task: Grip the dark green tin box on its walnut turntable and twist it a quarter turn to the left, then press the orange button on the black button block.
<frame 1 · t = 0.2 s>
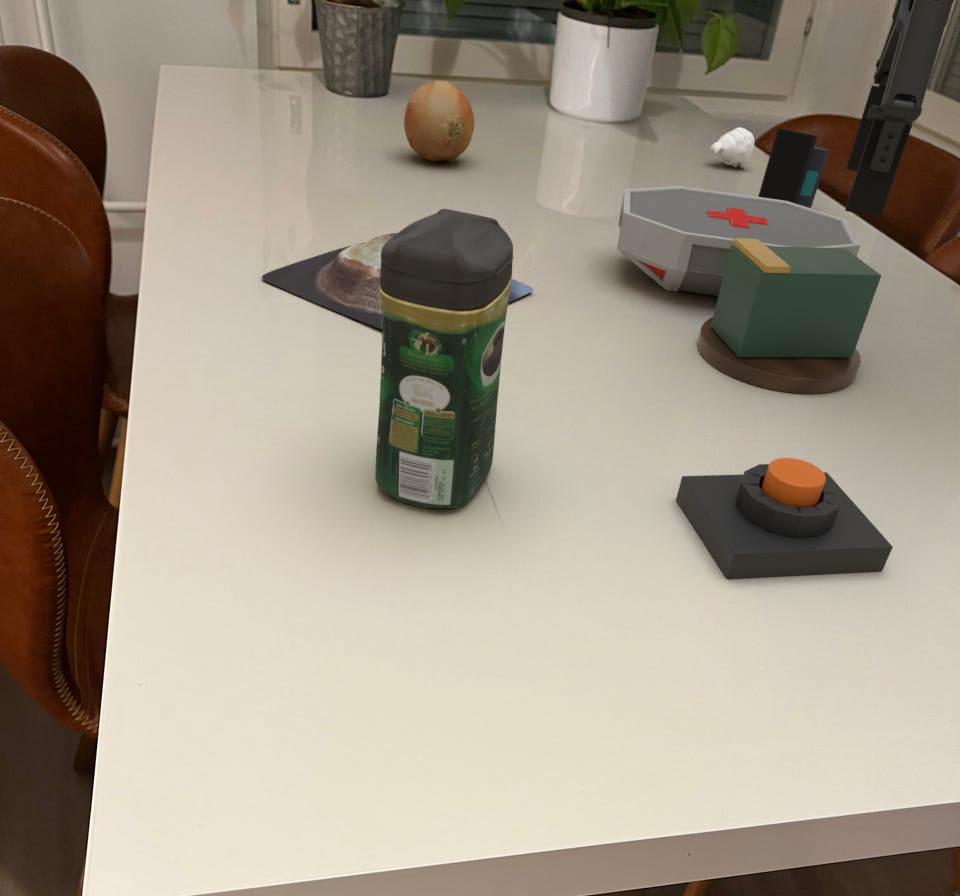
hand: (862, 191, 82), 17 cm above the table, tool pointing down, fingers open, 13 cm apart
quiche: (400, 287, 102), on the table
first aid kit: (720, 286, 112), on the table
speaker: (782, 212, 137), on the table
button: (793, 482, 69), point 4 cm above the table, slide at 0.1 cm
turntable base: (775, 357, 97), on the table
button block: (775, 535, 72), on the table
onion: (436, 162, 139), on the table
garlic bulb: (724, 168, 152), on the table
coffee jar: (432, 481, 74), on the table
box: (793, 299, 93), point 6 cm above the table, hinge at 0.0°
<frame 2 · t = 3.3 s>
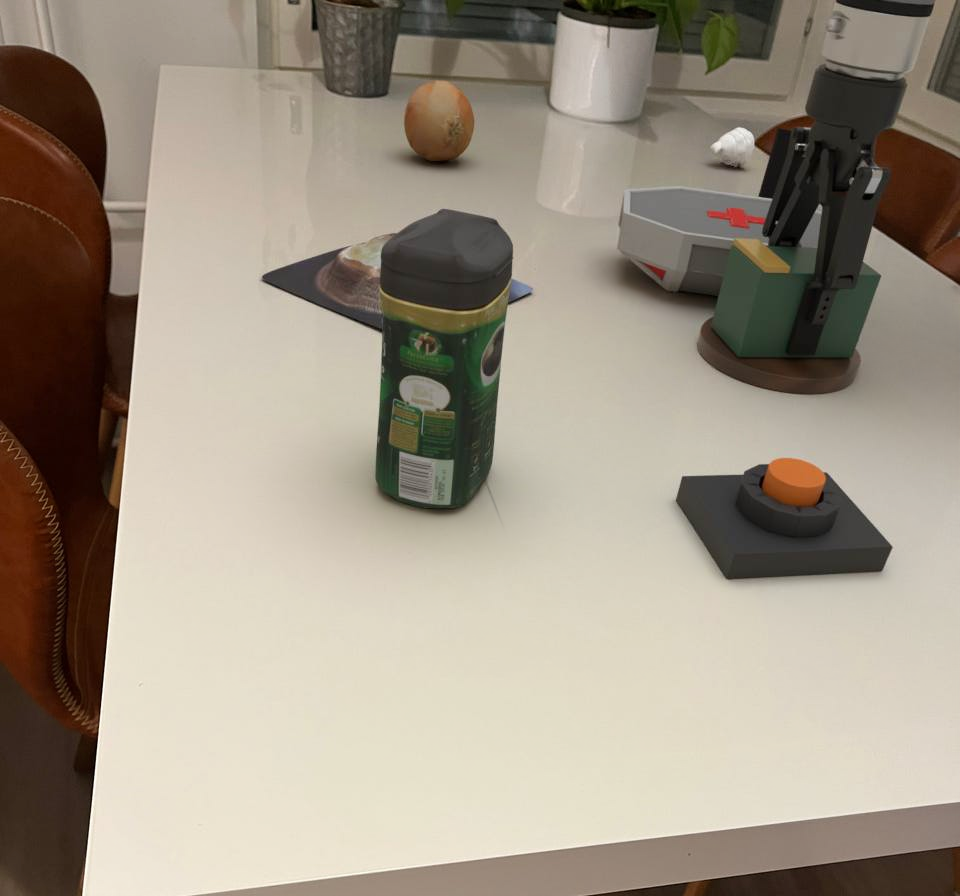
hand: (782, 335, 96), 2 cm above the table, tool pointing down, fingers closed on box, 7 cm apart
box: (793, 299, 93), point 6 cm above the table, hinge at 0.0°, touching gripper
everything else where it was.
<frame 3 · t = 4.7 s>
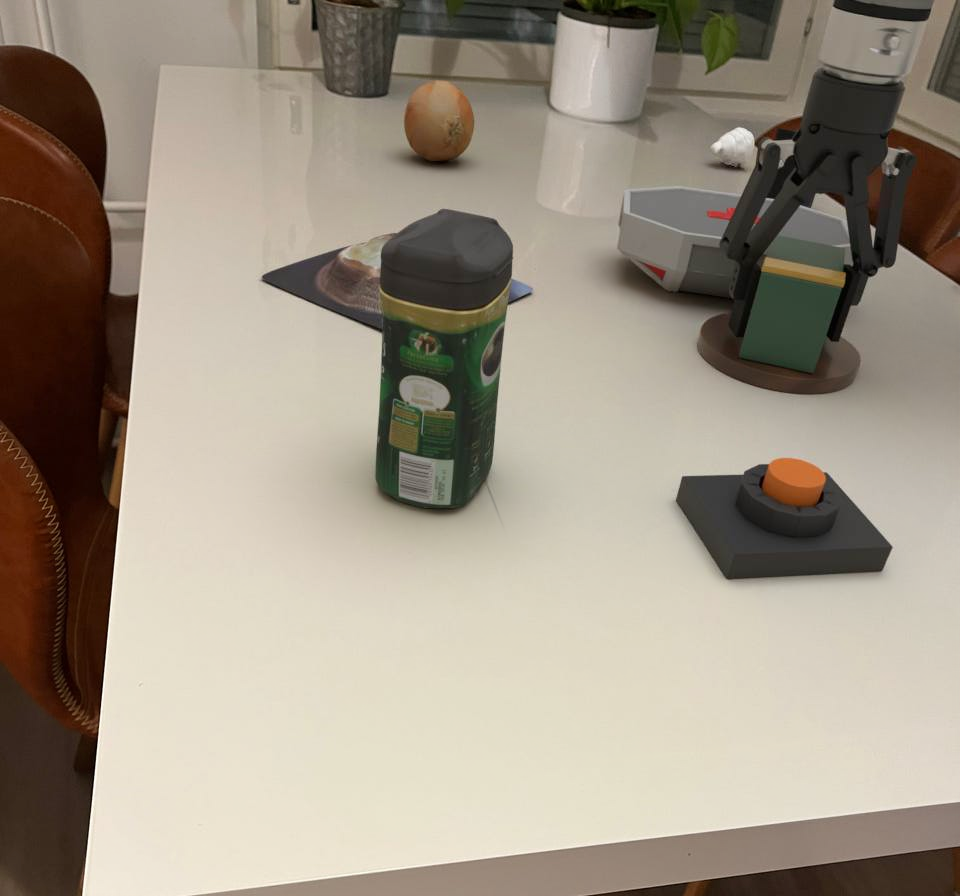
hand: (783, 333, 96), 2 cm above the table, tool pointing down, fingers closed on box, 9 cm apart
box: (793, 299, 93), point 6 cm above the table, hinge at 60.6°, touching gripper
everything else where it was.
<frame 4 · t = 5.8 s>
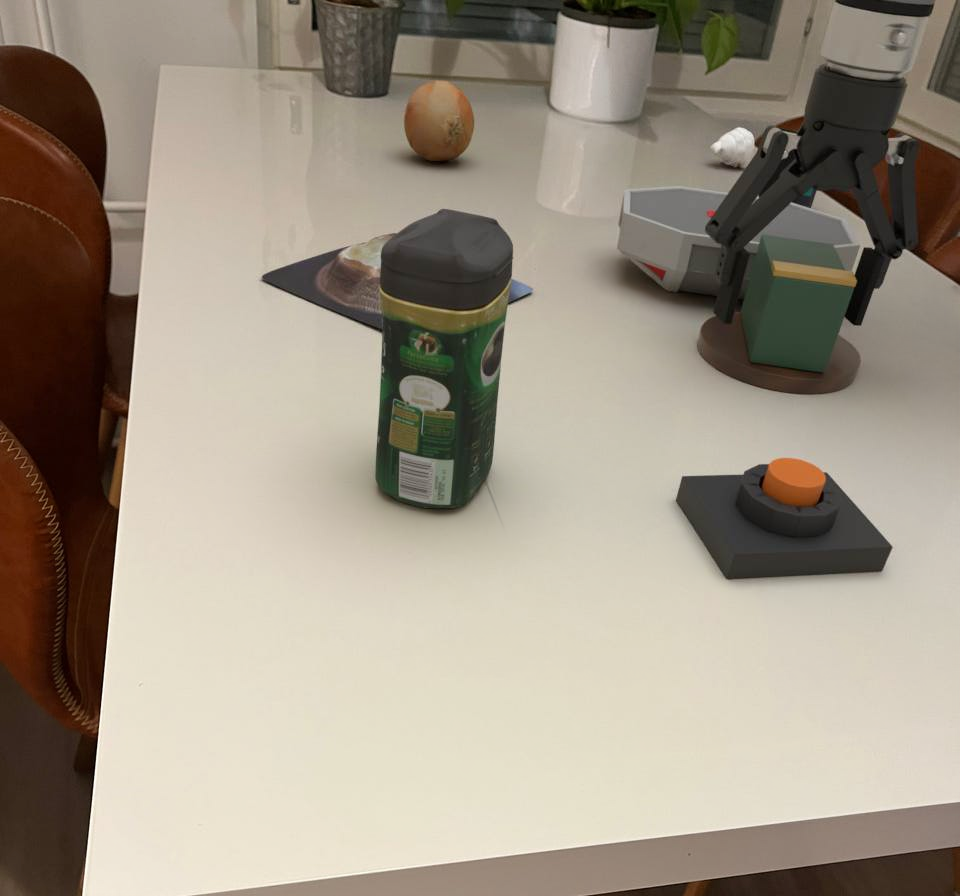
hand: (787, 319, 95), 4 cm above the table, tool pointing down, fingers open, 13 cm apart
box: (793, 299, 93), point 6 cm above the table, hinge at 71.2°
everything else where it was.
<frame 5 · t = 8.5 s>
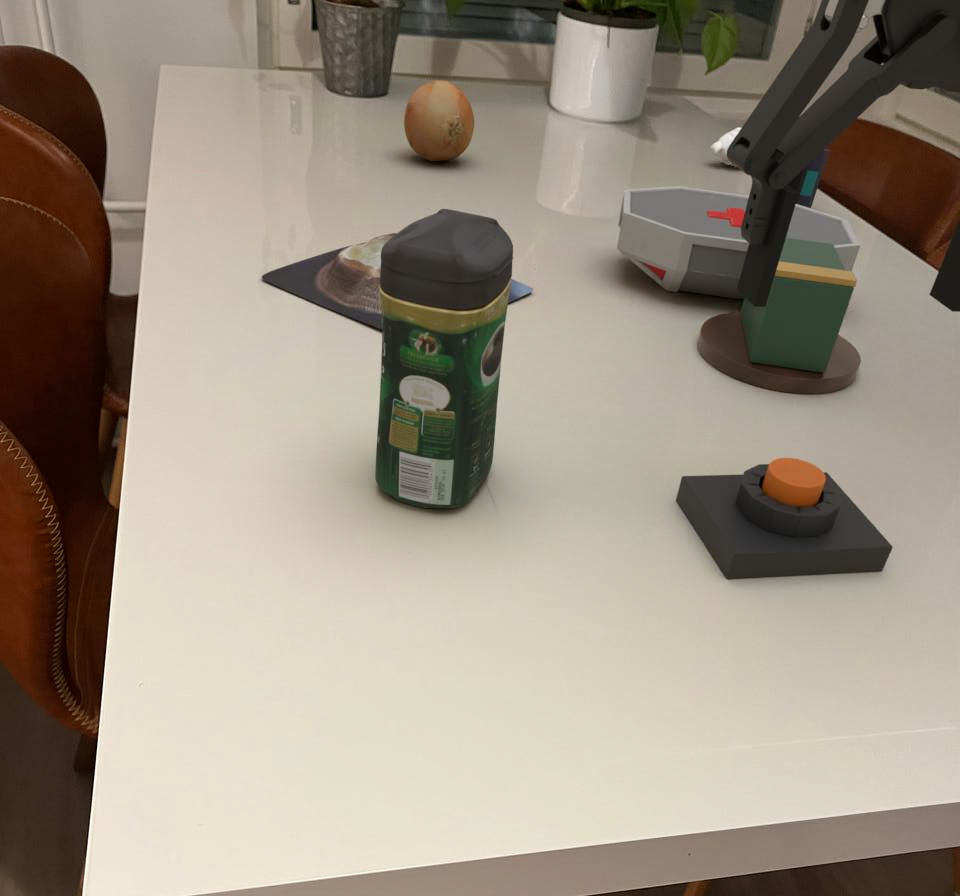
hand: (850, 301, 62), 17 cm above the table, tool pointing down, fingers open, 13 cm apart
nothing on the table moved.
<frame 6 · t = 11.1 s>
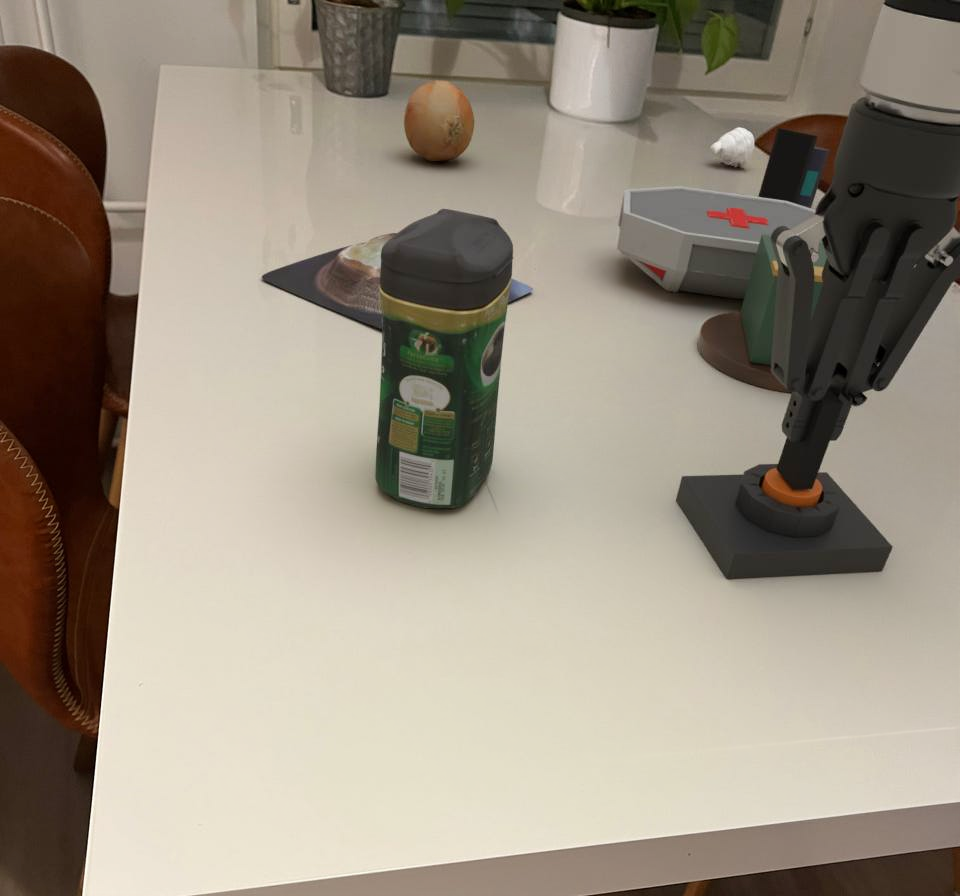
hand: (794, 478, 69), 5 cm above the table, tool pointing down, fingers closed
button: (790, 492, 70), point 4 cm above the table, slide at -0.7 cm, touching gripper
everything else where it was.
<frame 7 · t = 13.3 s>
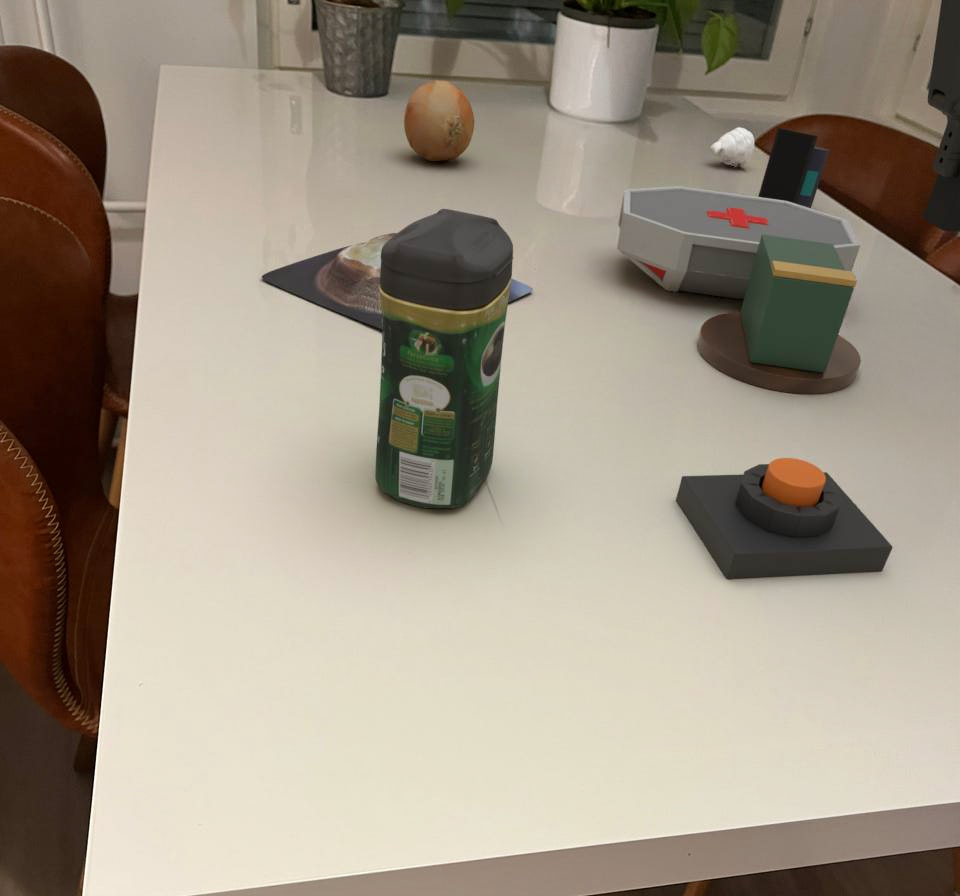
hand: (941, 224, 70), 19 cm above the table, tool pointing down, fingers closed
button: (793, 482, 69), point 4 cm above the table, slide at 0.1 cm
everything else where it was.
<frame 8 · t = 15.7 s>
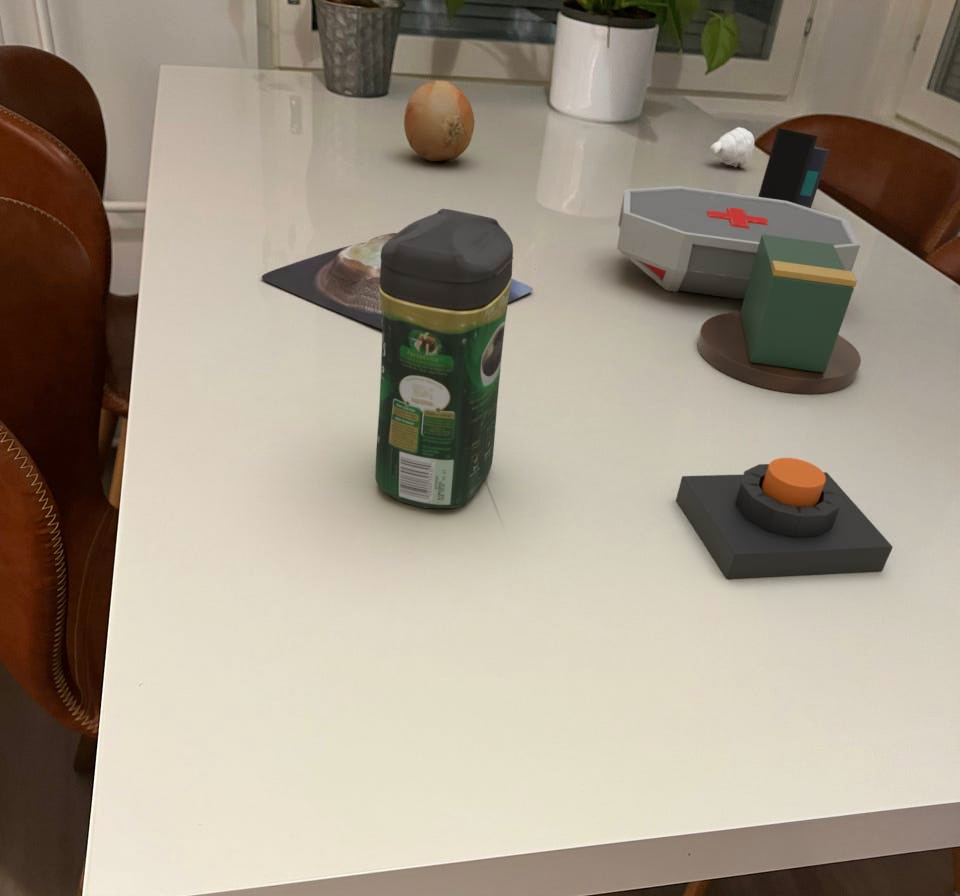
nothing on the table moved.
at the end: box at +71° (first picture: +0°); button pushed in 1.0 cm at the most during the clip, back to where it started at the end; button slide at 0.1 cm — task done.
